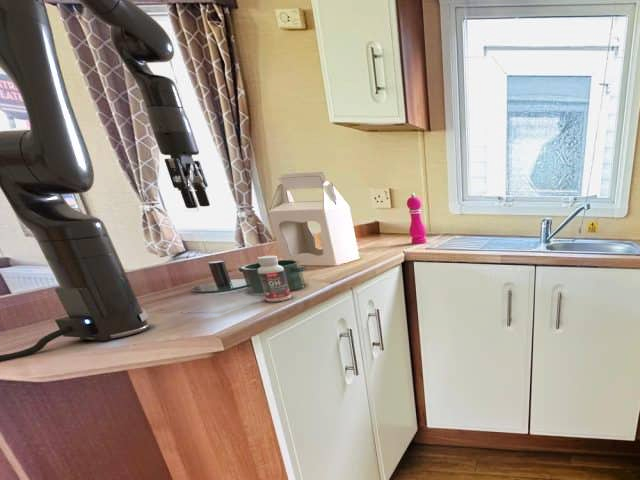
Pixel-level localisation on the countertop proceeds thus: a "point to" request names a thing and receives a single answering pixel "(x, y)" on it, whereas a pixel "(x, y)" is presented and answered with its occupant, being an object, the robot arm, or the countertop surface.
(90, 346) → the countertop surface
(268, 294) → the pill bottle
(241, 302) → the countertop surface
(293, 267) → the pot
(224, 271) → the pot lid
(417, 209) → the pepper mill
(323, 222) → the gable box
